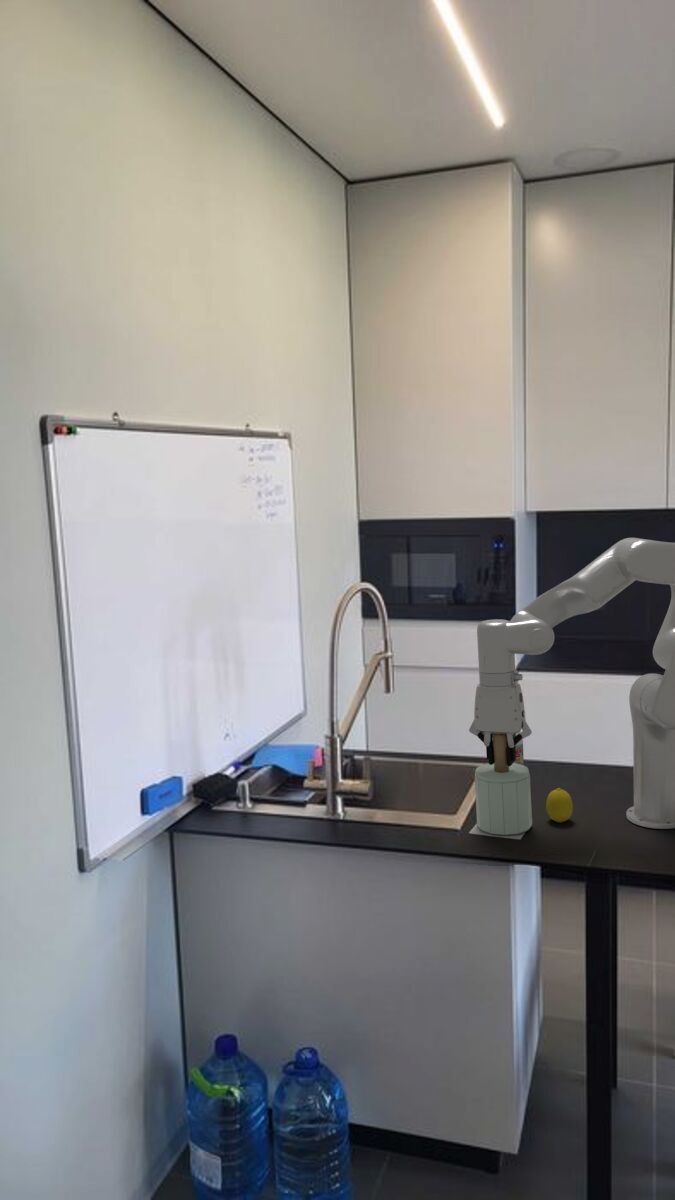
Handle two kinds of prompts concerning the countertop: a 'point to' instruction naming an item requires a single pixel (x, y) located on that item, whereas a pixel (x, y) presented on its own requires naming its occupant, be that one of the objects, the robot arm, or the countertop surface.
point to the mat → (480, 832)
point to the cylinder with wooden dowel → (503, 793)
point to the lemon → (559, 805)
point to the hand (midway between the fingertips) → (501, 762)
